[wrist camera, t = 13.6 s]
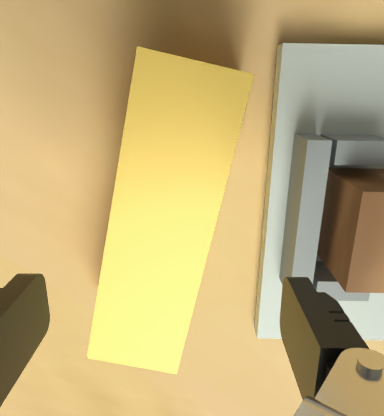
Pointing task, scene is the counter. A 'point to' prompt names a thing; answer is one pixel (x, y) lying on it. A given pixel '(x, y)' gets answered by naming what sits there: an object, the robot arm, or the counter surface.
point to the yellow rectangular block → (165, 205)
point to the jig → (317, 169)
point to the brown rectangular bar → (354, 229)
